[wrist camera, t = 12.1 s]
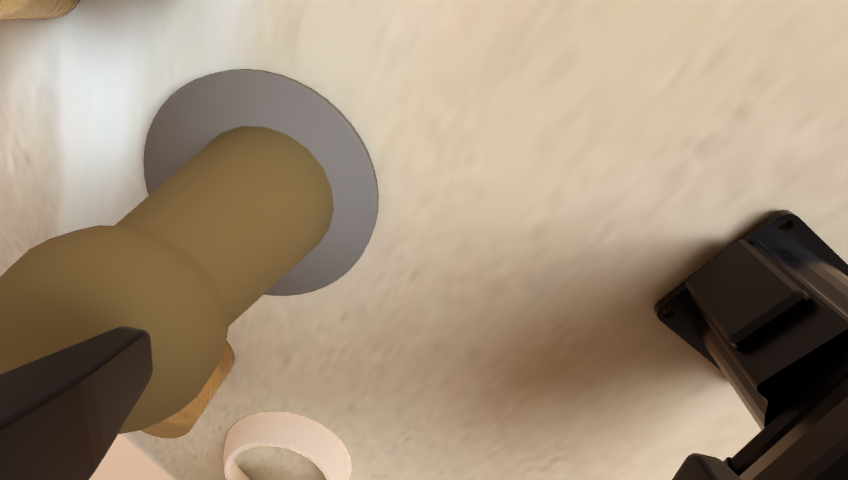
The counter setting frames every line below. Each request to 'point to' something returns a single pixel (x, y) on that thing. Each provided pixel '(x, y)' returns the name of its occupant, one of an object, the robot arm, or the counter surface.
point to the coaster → (290, 114)
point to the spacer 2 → (194, 402)
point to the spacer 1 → (35, 8)
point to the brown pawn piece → (174, 264)
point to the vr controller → (287, 442)
